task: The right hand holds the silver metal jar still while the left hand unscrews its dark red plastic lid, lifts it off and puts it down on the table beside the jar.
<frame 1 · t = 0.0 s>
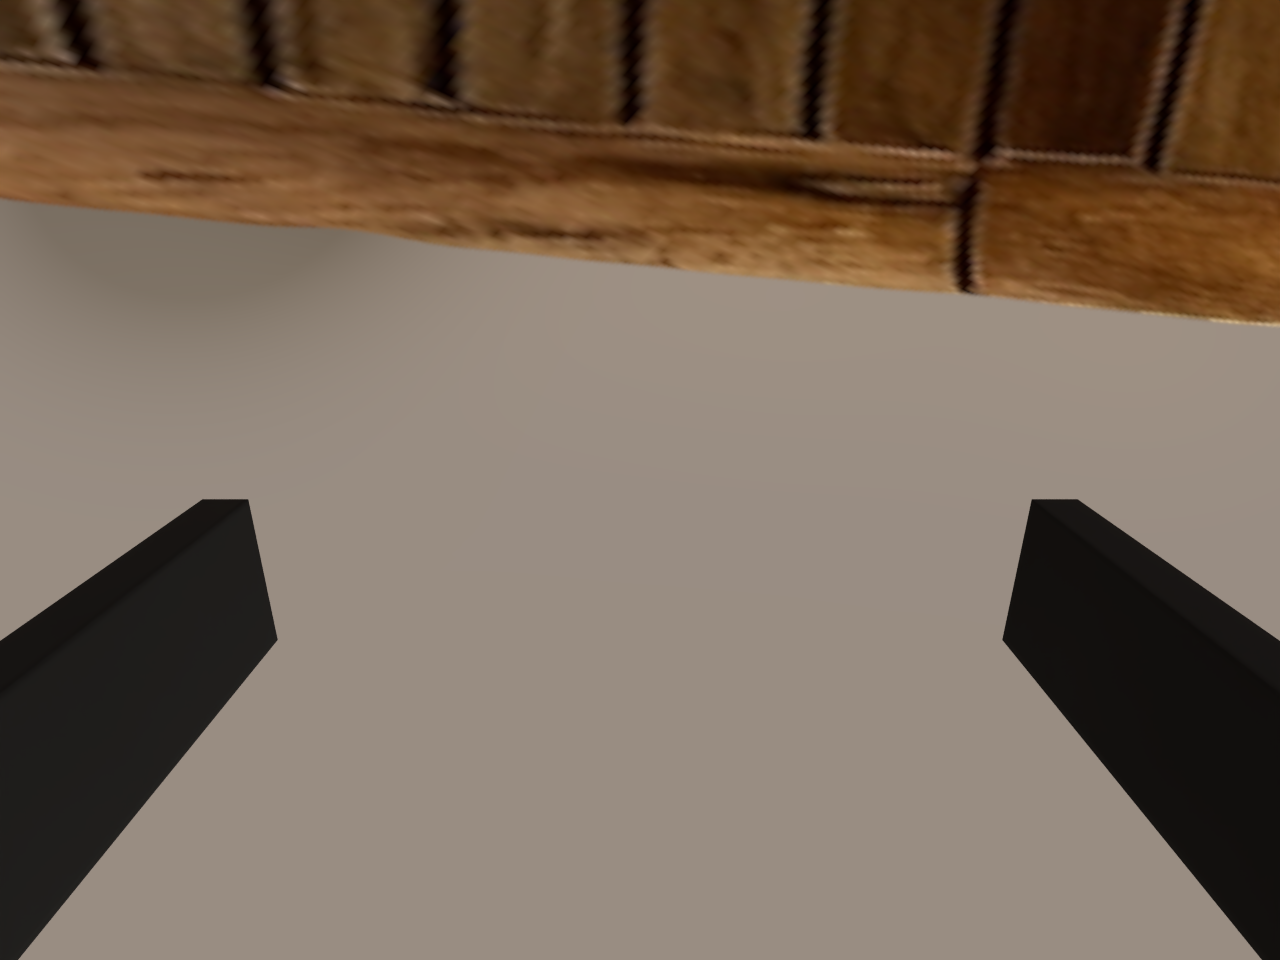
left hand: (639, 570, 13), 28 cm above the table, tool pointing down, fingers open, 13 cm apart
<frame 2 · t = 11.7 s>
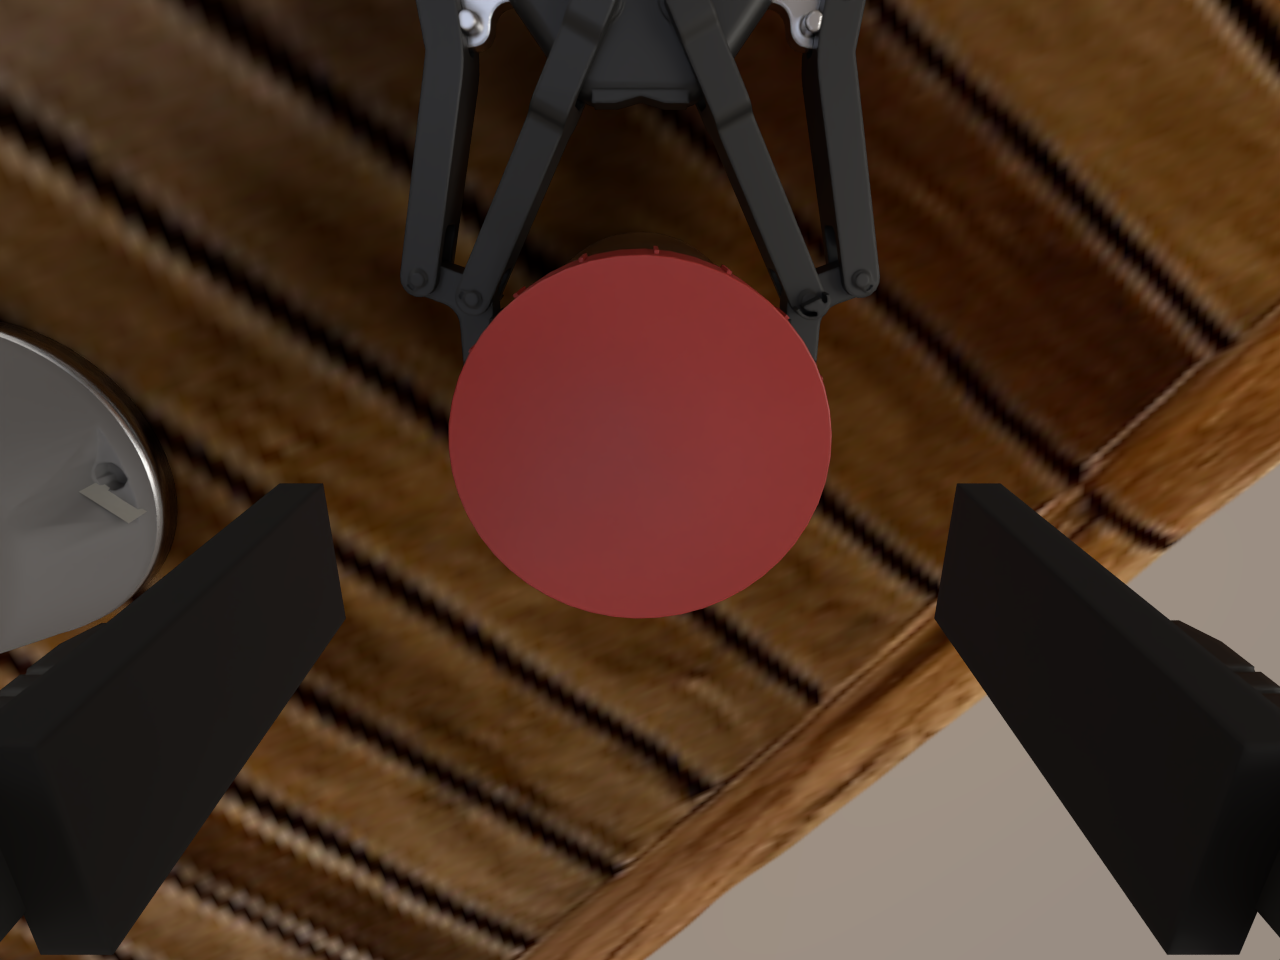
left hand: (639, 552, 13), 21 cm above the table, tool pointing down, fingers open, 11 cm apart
right hand: (639, 480, 29), fingers closed on jar, 9 cm apart
lid: (640, 449, 19), point 16 cm above the table, screwed on, not yet turned
jar: (639, 336, 33), on the table, touching right hand
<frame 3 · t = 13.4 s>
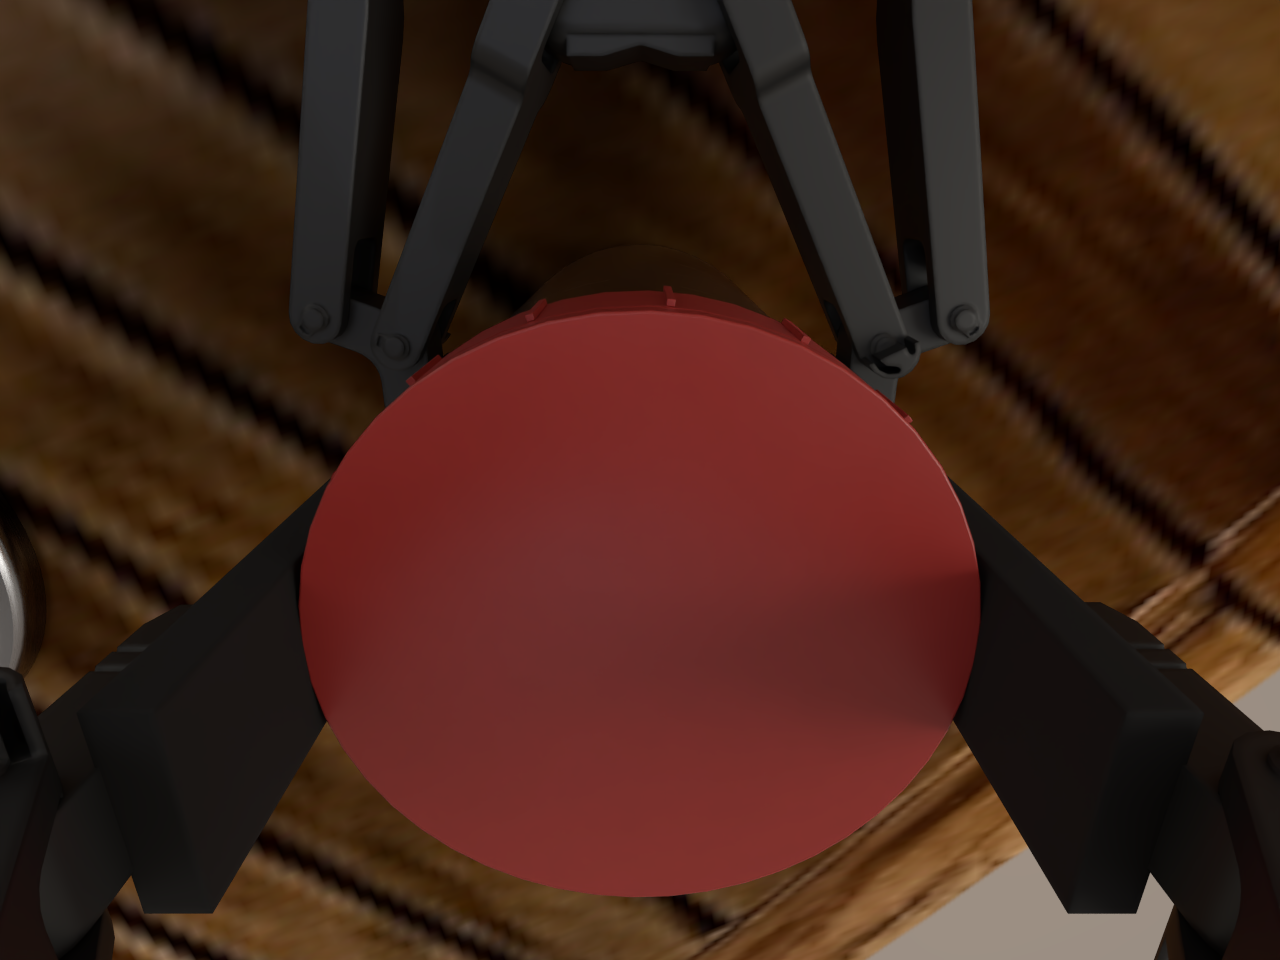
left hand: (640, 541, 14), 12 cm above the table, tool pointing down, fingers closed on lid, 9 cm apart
lid: (639, 639, 11), point 16 cm above the table, screwed on, not yet turned, touching left hand
jar: (639, 381, 25), on the table, touching right hand
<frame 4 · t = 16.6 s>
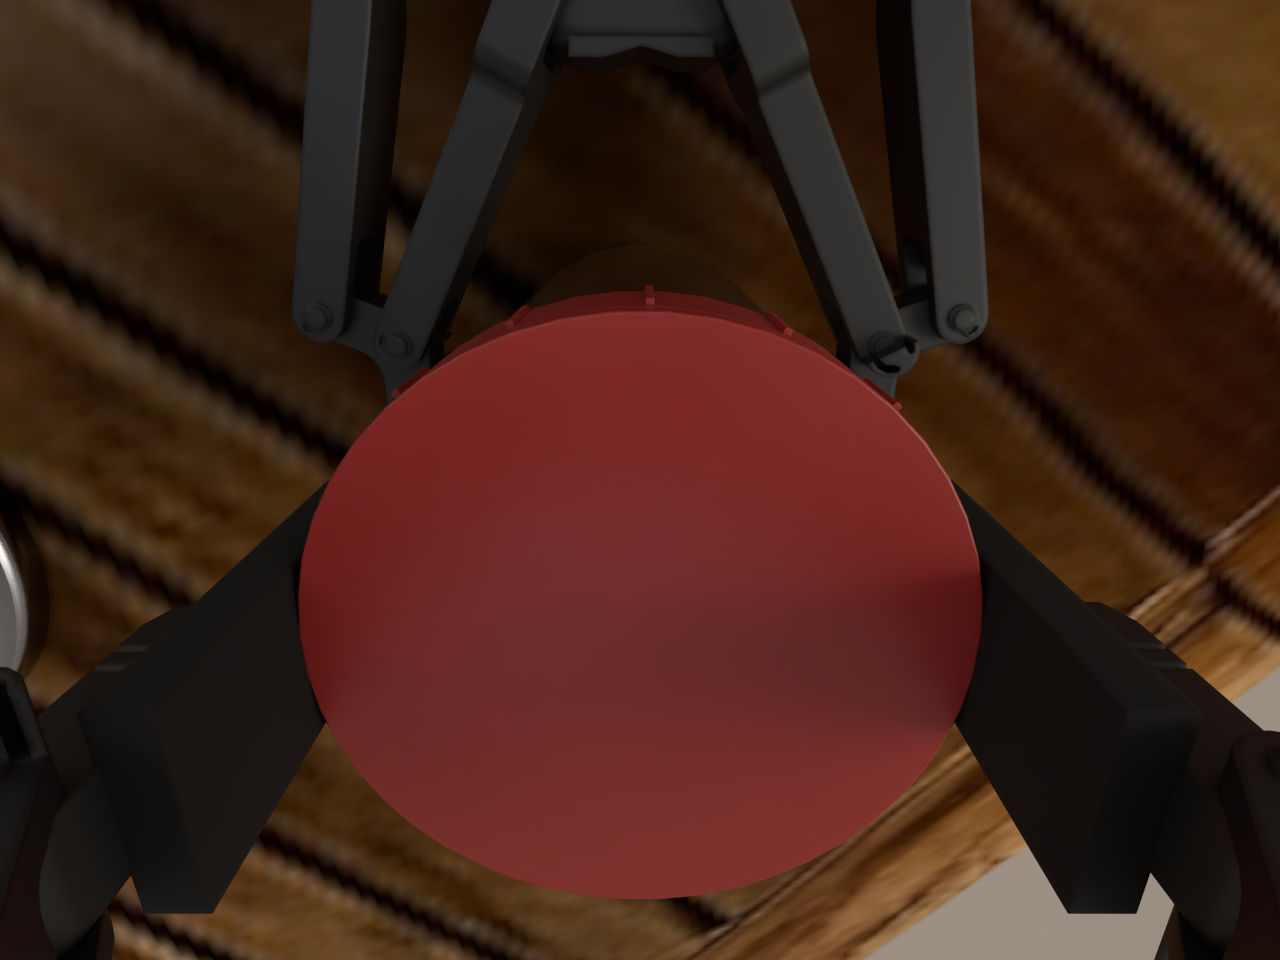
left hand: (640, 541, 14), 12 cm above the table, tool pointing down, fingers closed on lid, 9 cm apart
lid: (640, 640, 11), point 16 cm above the table, turned 88° so far, risen 0.1 cm, still on its thread, touching left hand
jar: (640, 380, 25), on the table, touching right hand
when the left hand's fingers open (0 cm above the table, at t = 29.3 s): lid drops 2 cm, point 2 cm above the table.
when the right hand's fingers open (6 cm above the table, at t = 30.4 s): jar stays where it is, on the table.
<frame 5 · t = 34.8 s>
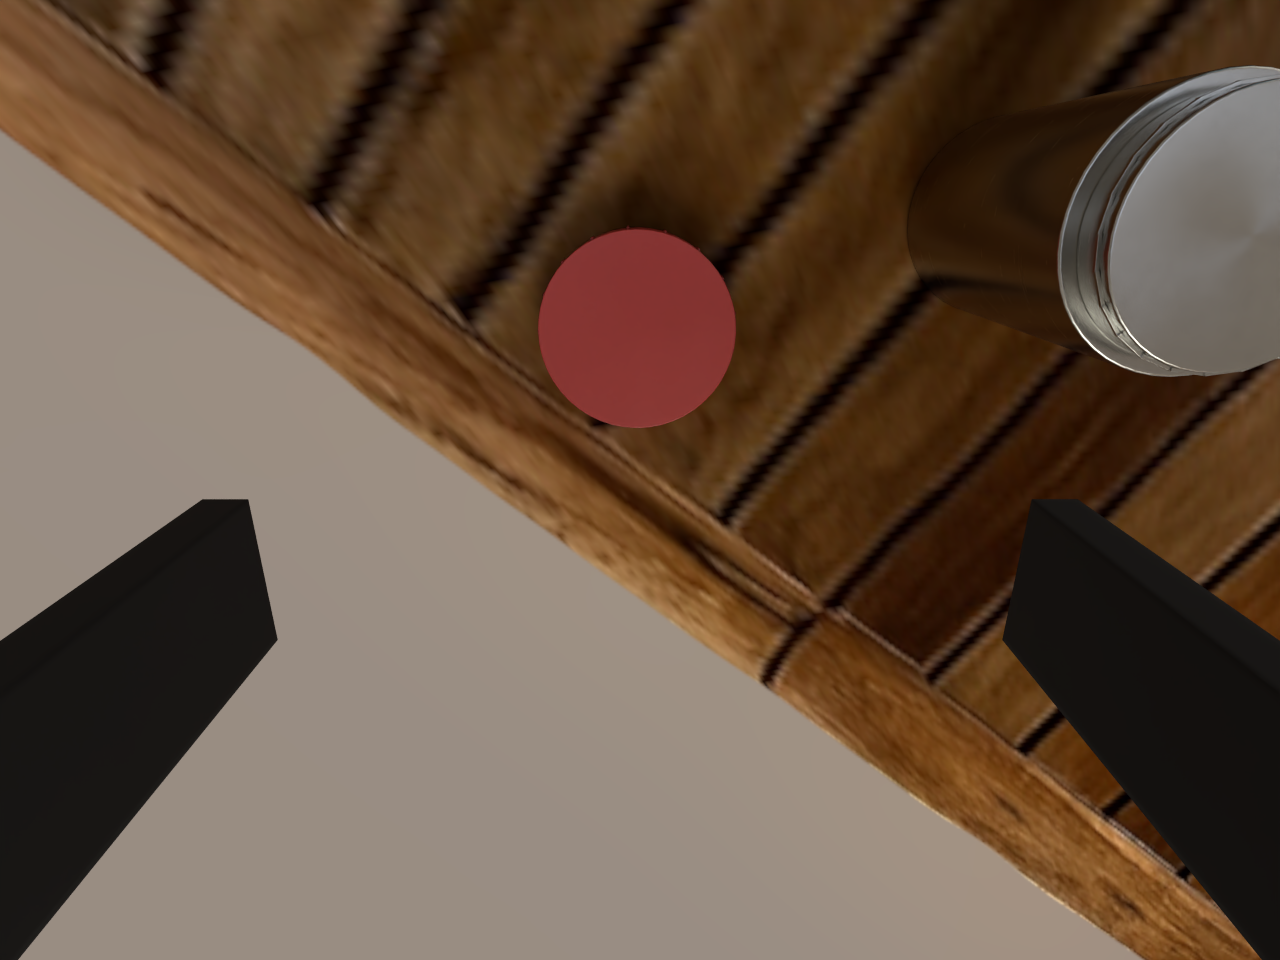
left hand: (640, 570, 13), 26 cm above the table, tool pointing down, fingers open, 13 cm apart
lid: (637, 332, 36), point 2 cm above the table, off its thread
jar: (1001, 218, 35), on the table
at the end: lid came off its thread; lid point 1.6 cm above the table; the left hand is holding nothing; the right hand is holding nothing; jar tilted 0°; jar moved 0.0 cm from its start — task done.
